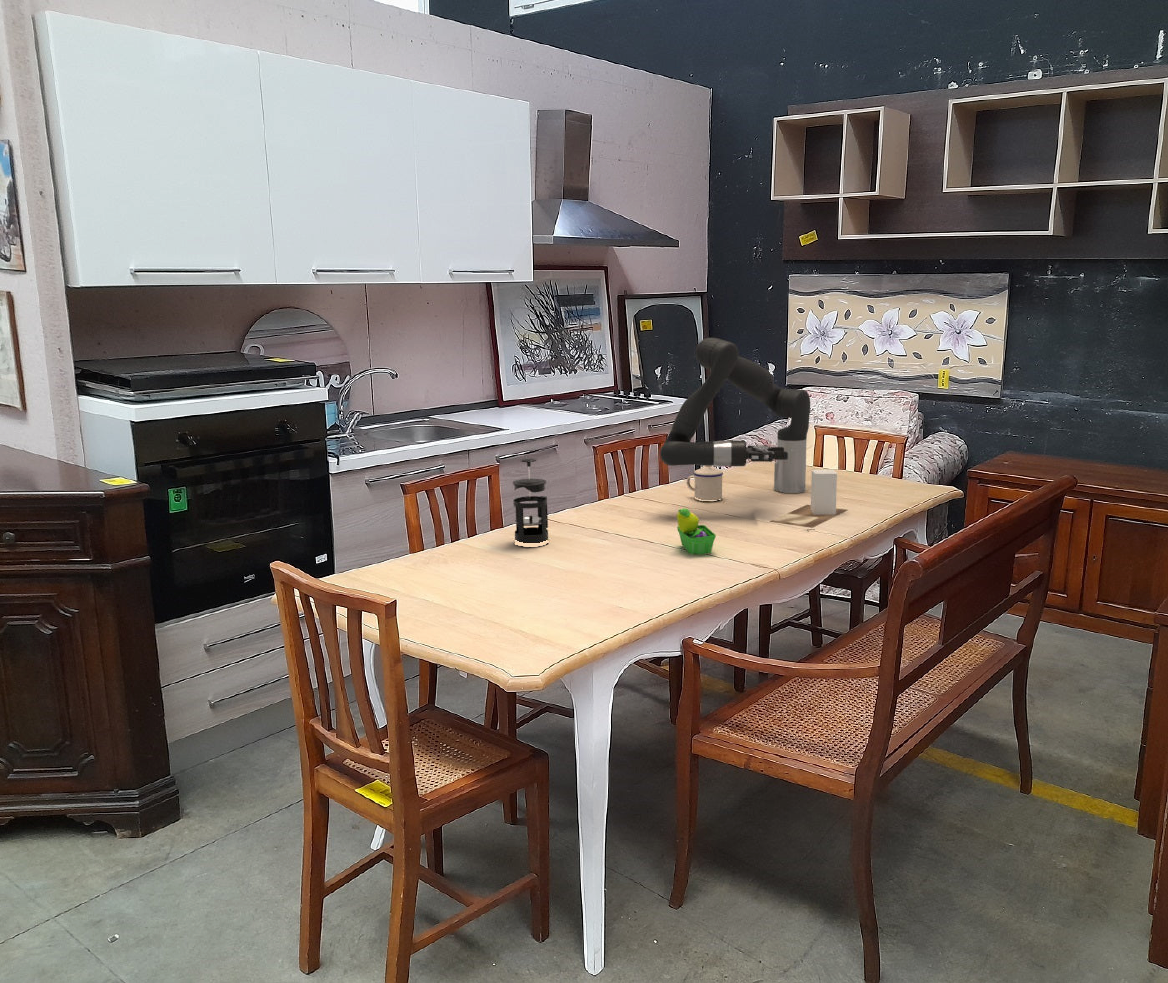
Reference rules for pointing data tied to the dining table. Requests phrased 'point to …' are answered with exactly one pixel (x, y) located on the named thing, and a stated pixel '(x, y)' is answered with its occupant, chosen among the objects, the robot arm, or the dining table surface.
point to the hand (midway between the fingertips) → (785, 453)
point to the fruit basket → (694, 533)
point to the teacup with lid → (707, 483)
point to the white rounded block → (823, 492)
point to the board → (805, 517)
